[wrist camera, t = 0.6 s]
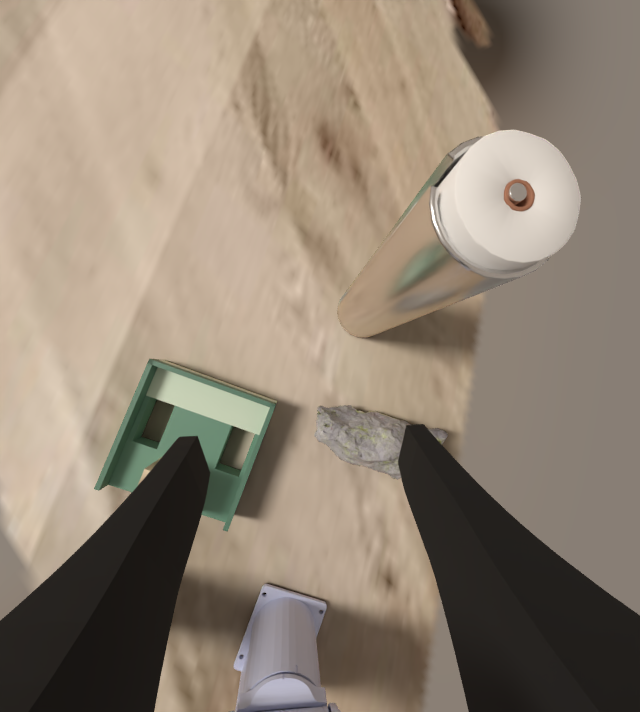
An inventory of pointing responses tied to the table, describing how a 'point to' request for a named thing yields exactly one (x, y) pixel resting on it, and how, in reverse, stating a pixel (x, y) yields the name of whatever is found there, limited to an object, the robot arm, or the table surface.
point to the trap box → (189, 431)
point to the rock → (365, 437)
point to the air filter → (467, 231)
